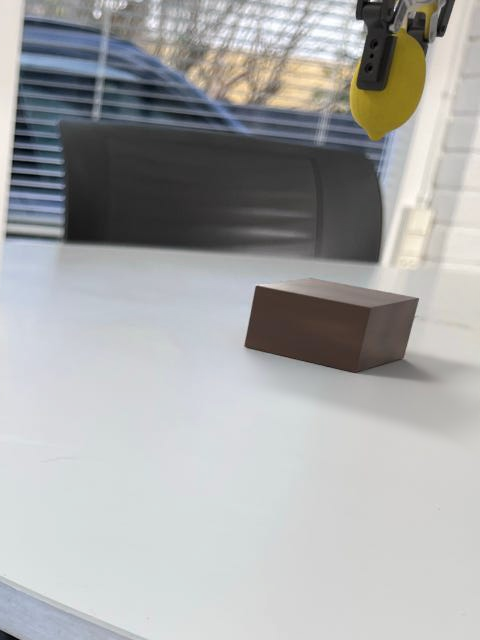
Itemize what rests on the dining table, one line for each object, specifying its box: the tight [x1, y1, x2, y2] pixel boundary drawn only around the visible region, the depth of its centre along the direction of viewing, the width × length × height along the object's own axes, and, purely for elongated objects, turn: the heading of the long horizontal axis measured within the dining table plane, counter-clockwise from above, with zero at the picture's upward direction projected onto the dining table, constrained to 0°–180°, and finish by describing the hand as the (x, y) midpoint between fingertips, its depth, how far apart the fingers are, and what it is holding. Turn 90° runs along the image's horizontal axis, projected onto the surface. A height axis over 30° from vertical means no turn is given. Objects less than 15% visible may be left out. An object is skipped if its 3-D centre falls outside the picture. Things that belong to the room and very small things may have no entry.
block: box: [243, 277, 420, 373], centre depth 88 cm, size 10×10×5 cm
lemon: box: [349, 27, 427, 142], centre depth 84 cm, size 6×6×8 cm
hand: (386, 92), depth 84 cm, fingers closed on lemon, 5 cm apart
